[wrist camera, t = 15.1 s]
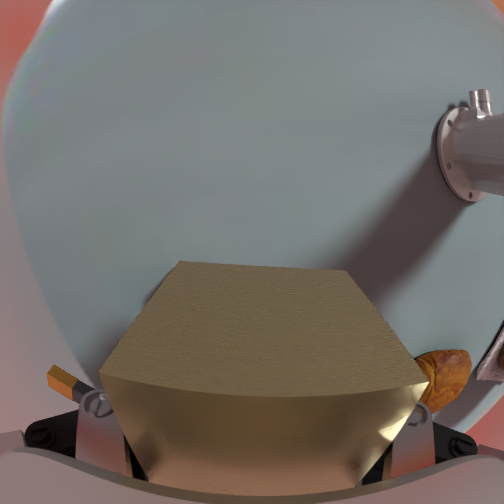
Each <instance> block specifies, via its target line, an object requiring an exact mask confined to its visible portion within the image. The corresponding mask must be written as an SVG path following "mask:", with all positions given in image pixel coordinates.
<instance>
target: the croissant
mask: <svg viewBox="0 0 504 504" xmlns="http://www.w3.org/2000/svg"><path fill="white" fill-rule="evenodd" d="M415 362H416V363H417V364H418V366H419V367H420V369H421V370H422V372H423V373H424V374H425V376H426V377H427V379H428V380H429V383H428V385H427V387H426V389H425V390H424V392H423V394H422V396H421V397H420V399H419V401H420V402H422V403H424V404H425V405H426V406H427V407H428V408H429V410H430V412H431V414H433V413H435V412H437V411H439V410H441V409H442V408H444V407H445V406H446V405H447V404H448V403H450V402H452V401H453V400H454V399H455V400H456V399H457V397H458V396H459V394H460V393H461V391H462V390H463V388H464V386H465V385H466V383H467V380H468V377H469V374H470V373H471V367H472V362H471V358H470V355H469V353H468V352H467V351H465V350H453V349H452V350H435V351H432V352H429V353H426V354H424V355H422V356H420V357H419V358H417V359H416V360H415Z"/></svg>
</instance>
